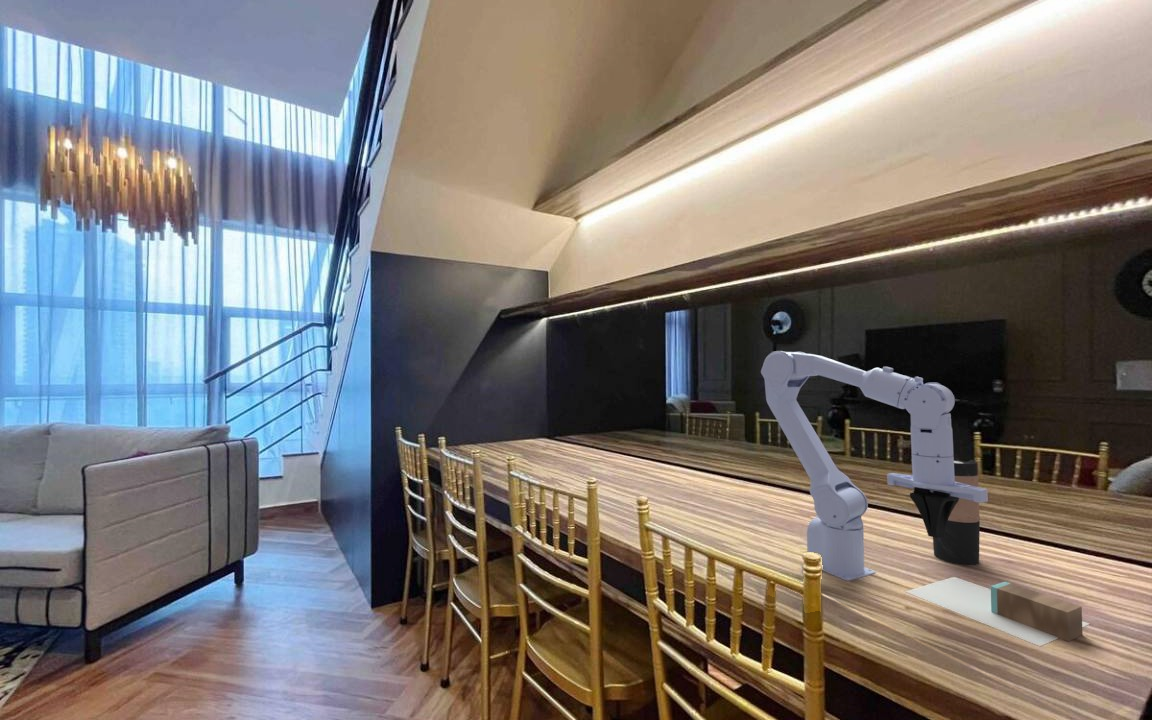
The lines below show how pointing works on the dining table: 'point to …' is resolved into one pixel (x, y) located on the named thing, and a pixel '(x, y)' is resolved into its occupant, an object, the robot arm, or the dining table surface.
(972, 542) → the travel mug
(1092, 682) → the dining table surface
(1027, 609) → the walnut block
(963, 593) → the grey mat
